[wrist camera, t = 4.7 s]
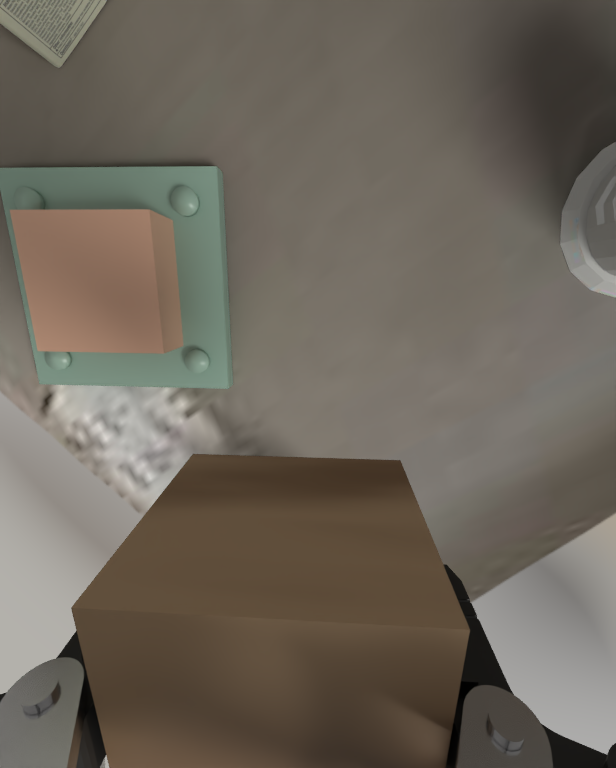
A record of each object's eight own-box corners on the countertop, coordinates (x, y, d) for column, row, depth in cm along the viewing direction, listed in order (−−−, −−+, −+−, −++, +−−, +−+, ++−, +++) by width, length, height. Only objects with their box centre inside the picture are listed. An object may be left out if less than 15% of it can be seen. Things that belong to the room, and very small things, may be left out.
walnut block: (192, 454, 10) (71, 607, 5) (400, 460, 10) (470, 629, 5) (208, 613, 12) (126, 838, 7) (385, 622, 11) (427, 865, 7)
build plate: (12, 174, 23) (-56, 149, 19) (222, 172, 22) (199, 146, 18) (52, 379, 26) (2, 396, 22) (233, 384, 26) (215, 401, 22)
